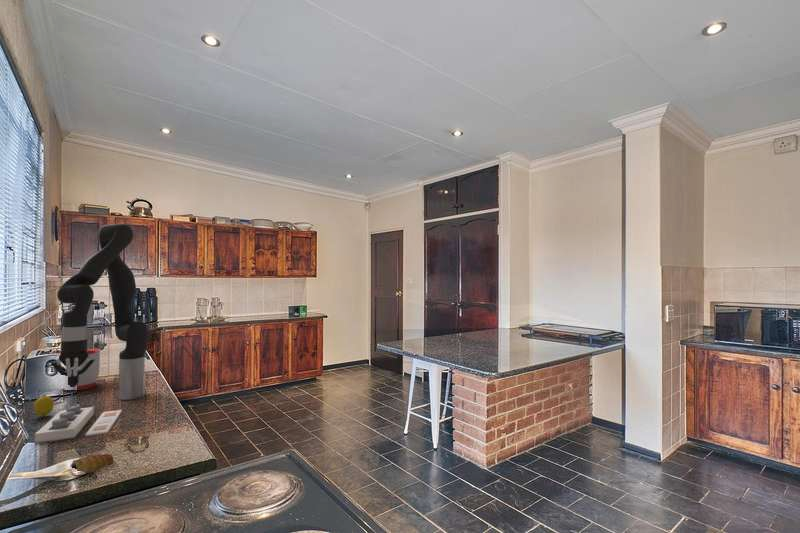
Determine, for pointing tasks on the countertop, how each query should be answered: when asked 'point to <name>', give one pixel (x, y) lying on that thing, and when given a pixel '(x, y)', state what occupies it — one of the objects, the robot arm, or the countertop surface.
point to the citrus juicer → (90, 371)
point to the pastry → (92, 462)
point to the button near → (60, 423)
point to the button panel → (64, 433)
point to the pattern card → (104, 423)
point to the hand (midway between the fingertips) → (73, 386)
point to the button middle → (68, 415)
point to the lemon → (43, 405)
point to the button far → (74, 409)
